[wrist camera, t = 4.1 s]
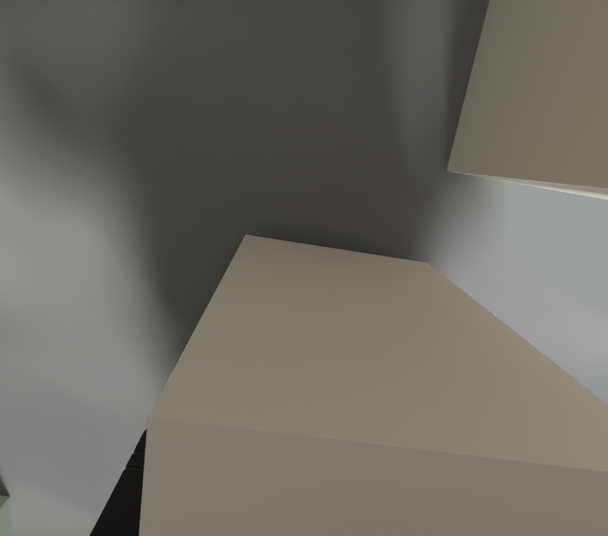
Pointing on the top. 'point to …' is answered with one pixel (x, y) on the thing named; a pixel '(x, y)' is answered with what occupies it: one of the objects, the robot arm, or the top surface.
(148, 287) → the top surface
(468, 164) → the faced twin box
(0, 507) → the sage tea tin
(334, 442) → the box
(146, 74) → the top surface
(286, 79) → the top surface
